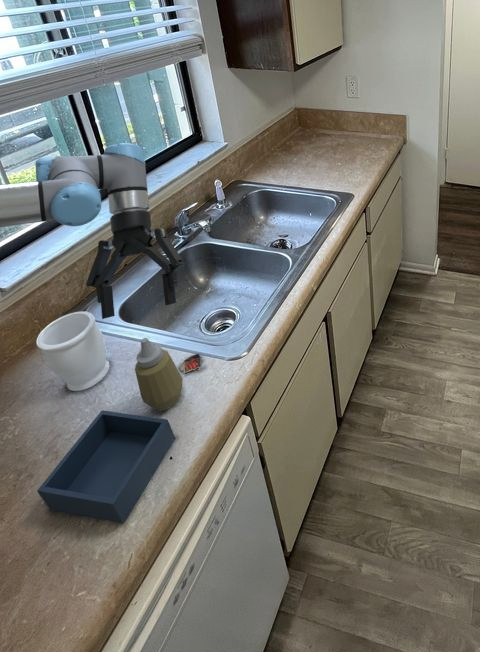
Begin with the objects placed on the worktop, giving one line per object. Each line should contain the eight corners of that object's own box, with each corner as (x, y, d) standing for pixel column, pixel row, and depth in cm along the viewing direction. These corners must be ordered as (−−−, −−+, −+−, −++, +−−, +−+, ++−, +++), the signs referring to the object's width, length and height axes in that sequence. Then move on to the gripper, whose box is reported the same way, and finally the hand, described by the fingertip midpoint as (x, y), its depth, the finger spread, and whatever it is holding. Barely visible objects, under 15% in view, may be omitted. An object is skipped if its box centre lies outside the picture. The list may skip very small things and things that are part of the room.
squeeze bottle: (174, 376, 101) (153, 319, 93) (194, 394, 97) (174, 336, 89) (139, 403, 95) (113, 344, 87) (158, 424, 91) (133, 364, 83)
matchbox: (198, 353, 107) (198, 351, 106) (205, 366, 103) (204, 365, 103) (178, 363, 104) (177, 362, 104) (184, 378, 100) (184, 377, 100)
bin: (49, 510, 77) (36, 490, 75) (111, 429, 90) (101, 409, 88) (123, 523, 75) (112, 504, 73) (175, 438, 88) (168, 419, 86)
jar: (83, 402, 96) (58, 354, 89) (50, 388, 99) (24, 341, 92) (125, 362, 105) (105, 316, 98) (93, 351, 108) (72, 306, 101)
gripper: (193, 202, 100) (205, 296, 97) (88, 224, 100) (95, 319, 97) (175, 199, 93) (187, 301, 89) (61, 224, 93) (68, 326, 89)
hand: (139, 310), depth 93 cm, fingers open, 13 cm apart
